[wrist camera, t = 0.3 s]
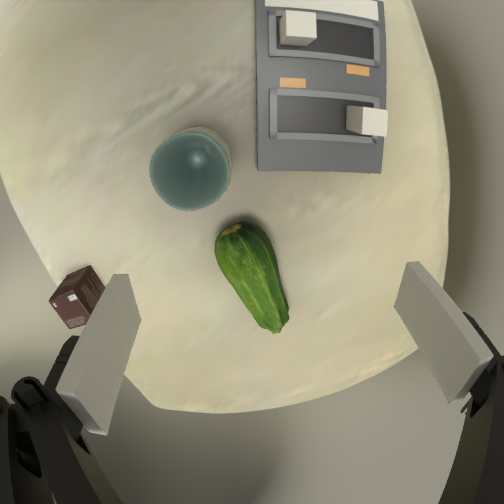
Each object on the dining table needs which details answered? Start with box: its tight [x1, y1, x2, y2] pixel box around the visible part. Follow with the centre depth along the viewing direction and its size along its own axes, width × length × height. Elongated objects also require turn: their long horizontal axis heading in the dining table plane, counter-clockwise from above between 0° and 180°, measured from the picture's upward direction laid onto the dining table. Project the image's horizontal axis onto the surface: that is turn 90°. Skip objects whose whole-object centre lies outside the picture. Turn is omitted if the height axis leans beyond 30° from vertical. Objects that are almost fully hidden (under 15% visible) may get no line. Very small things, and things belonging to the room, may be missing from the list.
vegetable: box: [215, 222, 289, 334], centre depth 42 cm, size 7×7×20 cm
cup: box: [149, 127, 232, 211], centre depth 31 cm, size 8×8×10 cm
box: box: [49, 266, 105, 329], centre depth 41 cm, size 6×6×7 cm
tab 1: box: [279, 10, 317, 46], centre depth 25 cm, size 3×3×5 cm
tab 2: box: [346, 105, 388, 137], centre depth 30 cm, size 3×3×5 cm
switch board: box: [255, 0, 386, 174], centre depth 30 cm, size 24×16×3 cm, turn 1°
